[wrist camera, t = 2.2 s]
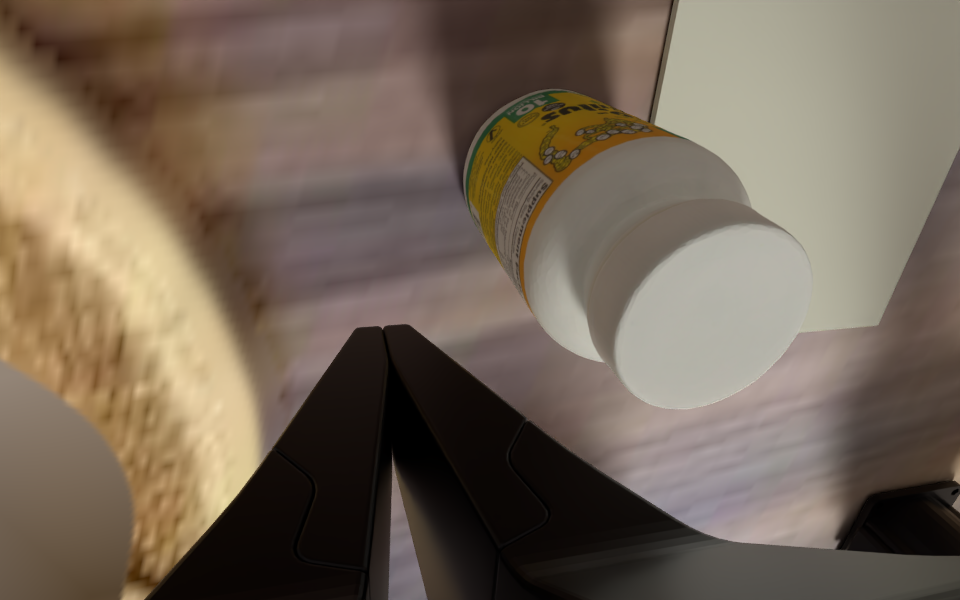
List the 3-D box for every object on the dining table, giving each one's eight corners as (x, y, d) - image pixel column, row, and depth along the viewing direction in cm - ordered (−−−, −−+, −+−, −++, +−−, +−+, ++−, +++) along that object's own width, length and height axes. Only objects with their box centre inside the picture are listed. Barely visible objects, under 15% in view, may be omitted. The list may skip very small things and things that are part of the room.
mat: (1035, -41, 19) (1045, -41, 19) (872, 322, 26) (877, 325, 25) (688, -76, 16) (694, -77, 16) (606, 345, 23) (609, 350, 22)
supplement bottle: (441, 234, 19) (534, 431, 11) (487, 63, 16) (648, 147, 8) (585, 260, 20) (759, 445, 12) (644, 109, 18) (903, 215, 10)
